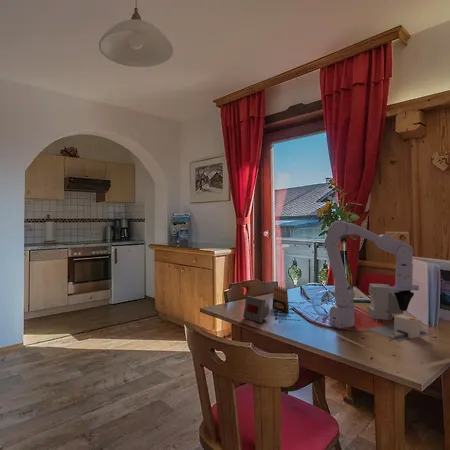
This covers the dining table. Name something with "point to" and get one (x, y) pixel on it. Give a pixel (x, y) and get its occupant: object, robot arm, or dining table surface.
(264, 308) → the voltmeter
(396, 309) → the circuit breaker
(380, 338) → the dining table surface
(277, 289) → the ammunition clip
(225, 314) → the dining table surface
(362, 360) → the dining table surface
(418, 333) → the block
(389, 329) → the board
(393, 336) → the din rail
